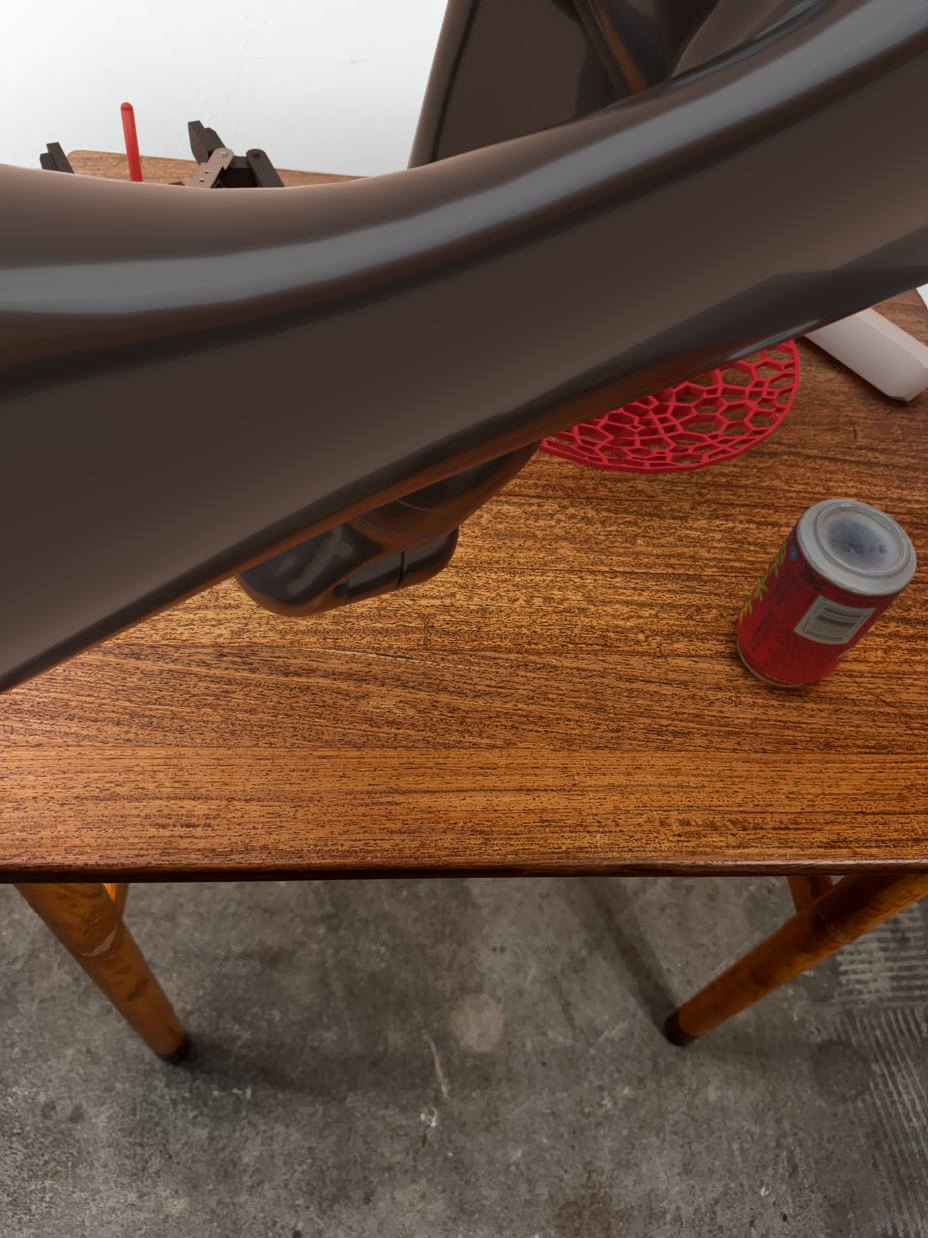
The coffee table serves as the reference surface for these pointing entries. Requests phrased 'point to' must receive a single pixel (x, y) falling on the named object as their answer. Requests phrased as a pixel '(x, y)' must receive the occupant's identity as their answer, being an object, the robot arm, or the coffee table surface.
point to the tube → (877, 353)
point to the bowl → (681, 423)
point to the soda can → (823, 591)
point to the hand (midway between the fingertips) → (126, 145)
